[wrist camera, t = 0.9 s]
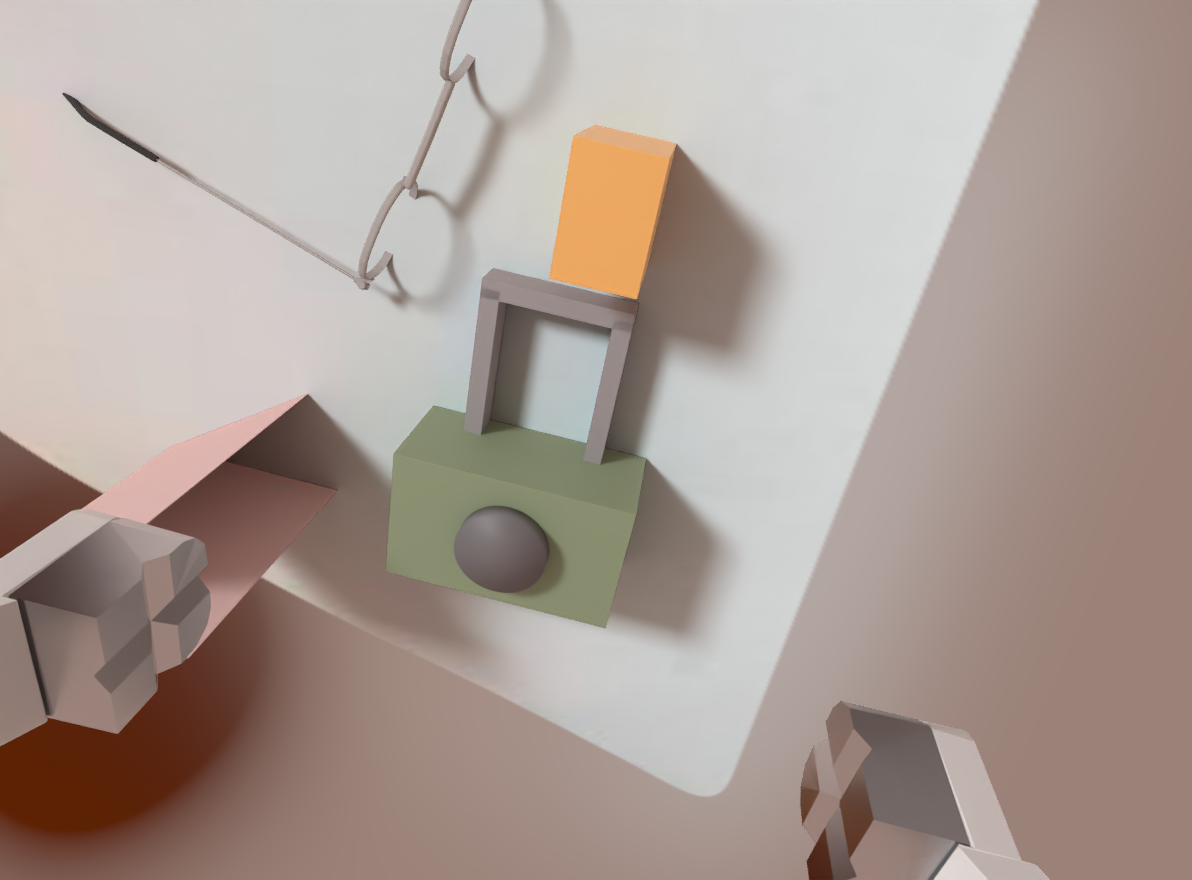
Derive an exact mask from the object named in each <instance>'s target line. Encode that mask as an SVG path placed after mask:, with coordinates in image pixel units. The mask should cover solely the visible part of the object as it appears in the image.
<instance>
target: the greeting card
mask: <svg viewBox="0 0 1192 880" xmlns="http://www.w3.org/2000/svg"><path fill="white" fill-rule="evenodd" d="M306 395H308V394H306ZM306 395H303V396H300V397H298V398H295V399H293V400H290V401H288V402H285V403H282V404H280V405H277V406H275V407H272V408H270V409H267V410H264V411H262V412H259V413H257V414H254V415H251V416H249V417H246V418H244V419H241V420H239V421H236V422H233V423H231V424H228V425H226V426H223V427H221V428H218V429H215V430H213V431H210V432H208V433H205V434H203V435H200V436H197V437H195V438H192V439H190V440H187V441H184V442H182V443H179V444H177V445H174V446H172V447H170V448H168V449H167V450H165V451H164V452H163V453H161V454H160V455H158V456H157V457H155V458H154V459H153V460H151V461H150V462H148V463H147V464H145V465H144V466H143V467H141V468H140V469H138V470H137V471H135V472H134V473H133V474H131V475H130V476H128V477H127V478H125V479H124V480H123V481H121V482H120V483H118V484H117V485H115V486H114V487H113V488H111V489H110V490H108V491H107V492H105V493H104V494H103V495H101V496H100V497H98V498H97V499H96V500H94V501H93V502H91V503H90V504H89V505H87V506H86V507H84V508H83V509H86V508H88V509H91V510H95V511H98V512H102V513H105V514H109V515H112V516H115V517H119V518H126V519H130V520H133V521H137V522H141V523H144V524H148V525H151V526H155V527H158V528H162V529H166V530H169V531H173V532H176V533H180V534H183V535H187V536H191V537H194V538H197V539H198V540H200V541H201V542H203V543H205V548H206V555H207V562H208V565H207V566H206V567H205V568H204V569H203V570H202V571H201V572H200V573H199V574H198V576H199V578H200V579H201V580H202V582H203V583H204V584H205V586H206V587H207V588H208V590H209V591H210V598H211V609H210V615H209V620H208V624H207V626H206V628H205V630H204V632H203V634H202V636H201V638H200V640H199V642H198V644H197V646H196V647H195V648H194V650H193V651H192V652H191V653H190V654H189V655H188V656H187V658H189V657H190V656H191V655H192V654H193V653H194V652H195V650H196V649H197V648H198V647H199V646H200V645H201V644H202V643H203V642H204V640H205V639H206V638H207V637H208V636H209V635H210V634H211V633H212V631H213V630H214V629H215V628H216V627H217V626H218V625H219V624H220V622H221V621H222V620H223V619H224V618H225V617H226V616H227V615H228V613H229V612H230V611H231V610H232V609H233V608H234V607H235V605H236V604H237V603H238V602H239V601H240V600H241V599H242V598H243V596H244V595H245V594H246V593H247V592H248V591H249V590H250V589H251V587H252V586H253V585H254V584H255V583H256V582H257V581H258V579H259V578H260V577H261V576H262V575H263V574H264V573H265V572H266V571H267V570H268V568H269V567H270V566H271V565H272V564H273V563H274V562H275V561H276V559H277V558H278V557H279V556H280V555H281V554H282V553H283V552H284V550H285V549H286V548H287V547H288V546H289V545H290V544H291V542H292V541H293V540H294V539H295V538H296V537H297V536H298V535H299V533H300V532H301V531H302V530H303V529H304V528H305V527H306V526H307V524H308V523H309V522H310V521H311V520H312V519H313V518H314V517H315V515H316V514H317V513H318V512H319V511H320V510H321V509H322V508H323V506H324V505H325V504H326V503H327V502H328V501H329V500H330V499H331V497H332V496H333V495H334V494H335V493H336V492H337V490H334V489H330V488H326V487H322V486H318V485H315V484H311V483H307V482H303V481H299V480H295V479H292V478H288V477H284V476H280V475H276V474H272V473H269V472H265V471H261V470H257V469H253V468H249V467H246V466H242V465H238V464H234V463H230V462H226V460H227V459H229V458H230V457H231V456H232V455H233V454H235V453H236V452H237V451H238V450H240V449H241V448H242V447H243V446H245V445H246V444H247V443H248V442H250V441H251V440H252V439H253V438H255V437H256V436H257V435H258V434H259V433H261V432H262V431H263V430H264V429H266V428H267V427H268V426H269V425H271V424H272V423H273V422H274V421H276V420H277V419H278V418H279V417H280V416H282V415H283V414H284V413H285V412H287V411H288V410H289V409H290V408H292V407H293V406H294V405H295V404H297V403H298V402H299V401H300V400H302V399H303V398H304V397H305V396H306Z"/></svg>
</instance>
